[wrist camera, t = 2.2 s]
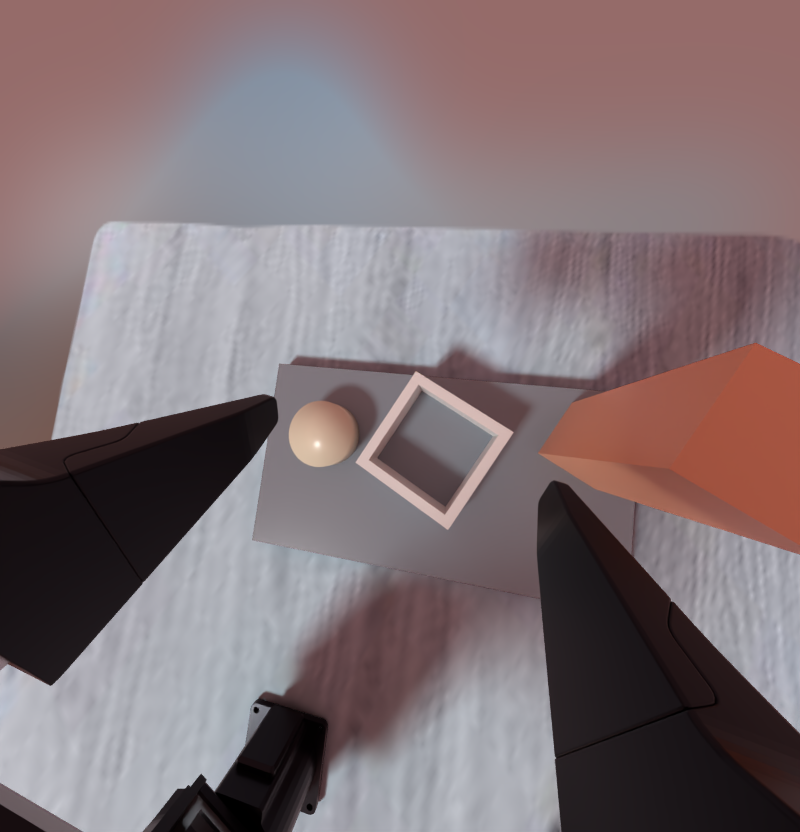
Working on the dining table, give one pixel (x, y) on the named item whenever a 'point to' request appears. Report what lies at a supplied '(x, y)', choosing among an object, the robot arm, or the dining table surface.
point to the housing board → (419, 473)
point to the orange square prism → (697, 443)
